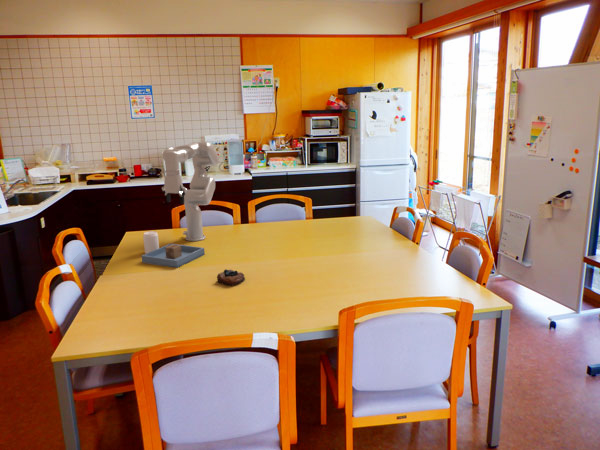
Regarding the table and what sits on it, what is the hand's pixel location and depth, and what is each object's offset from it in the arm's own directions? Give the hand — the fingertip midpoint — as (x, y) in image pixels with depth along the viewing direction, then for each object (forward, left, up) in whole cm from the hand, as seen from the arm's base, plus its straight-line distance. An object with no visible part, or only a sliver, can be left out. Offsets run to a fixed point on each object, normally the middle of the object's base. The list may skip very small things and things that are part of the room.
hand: (175, 202), depth 274 cm
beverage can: (-11, -11, -28) cm, 32 cm away
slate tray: (+8, -15, -28) cm, 33 cm away
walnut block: (+8, -15, -27) cm, 32 cm away
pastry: (+57, -33, -29) cm, 71 cm away
